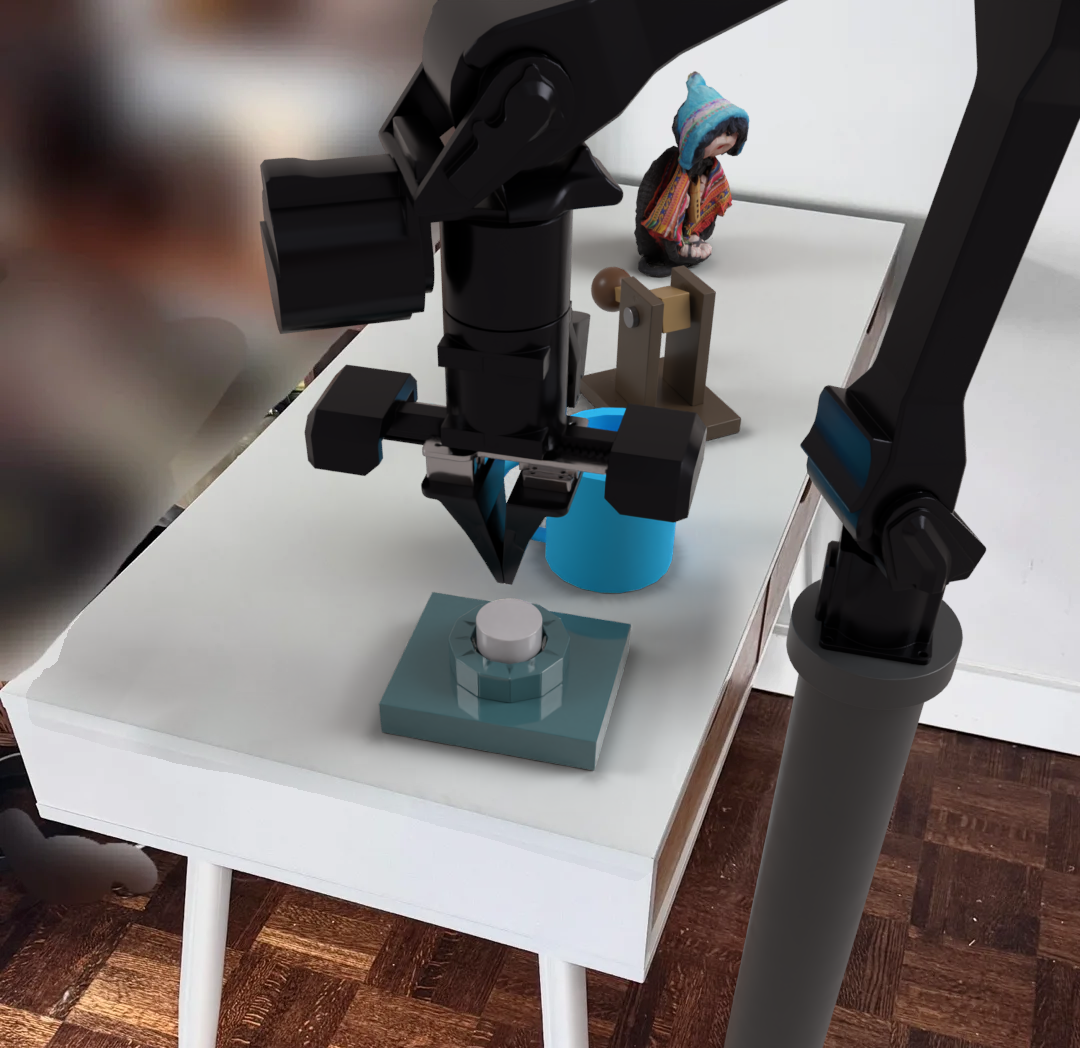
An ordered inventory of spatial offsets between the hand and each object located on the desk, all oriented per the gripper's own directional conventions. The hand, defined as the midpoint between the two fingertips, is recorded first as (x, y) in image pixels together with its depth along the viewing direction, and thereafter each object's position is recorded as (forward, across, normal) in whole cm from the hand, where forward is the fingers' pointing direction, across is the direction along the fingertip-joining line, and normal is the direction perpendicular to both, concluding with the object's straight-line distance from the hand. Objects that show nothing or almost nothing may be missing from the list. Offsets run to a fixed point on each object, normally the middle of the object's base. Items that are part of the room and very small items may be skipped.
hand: (506, 579), depth 70 cm
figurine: (+8, -1, -57) cm, 58 cm away
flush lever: (+3, -1, -35) cm, 35 cm away
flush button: (+5, 0, 0) cm, 5 cm away
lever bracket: (+8, -3, -32) cm, 33 cm away
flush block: (+8, 0, 0) cm, 8 cm away
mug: (+8, -1, -14) cm, 16 cm away
